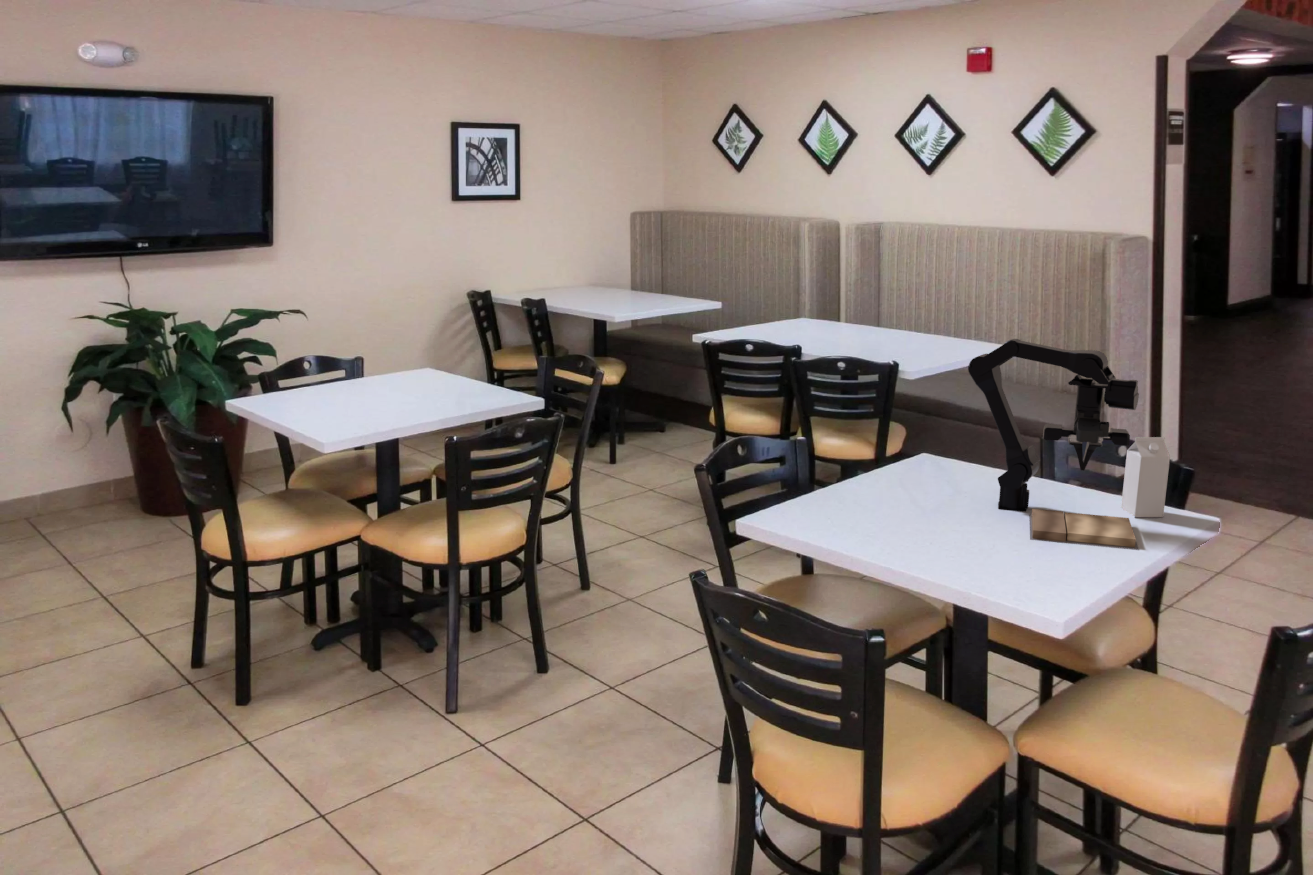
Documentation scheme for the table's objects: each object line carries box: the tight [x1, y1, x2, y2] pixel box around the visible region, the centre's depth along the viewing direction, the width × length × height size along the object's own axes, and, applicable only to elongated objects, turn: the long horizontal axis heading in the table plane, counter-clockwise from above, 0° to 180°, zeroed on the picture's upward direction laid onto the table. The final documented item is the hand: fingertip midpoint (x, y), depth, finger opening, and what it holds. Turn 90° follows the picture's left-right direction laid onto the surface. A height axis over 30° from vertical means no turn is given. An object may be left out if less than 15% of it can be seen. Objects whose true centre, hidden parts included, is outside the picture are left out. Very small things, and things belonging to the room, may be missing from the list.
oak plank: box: [1064, 511, 1137, 547], centre depth 254 cm, size 14×17×2 cm
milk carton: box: [1120, 436, 1171, 518], centre depth 269 cm, size 7×7×19 cm
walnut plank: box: [1031, 508, 1066, 542], centre depth 257 cm, size 7×18×2 cm, turn 163°
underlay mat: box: [1028, 514, 1140, 551], centre depth 255 cm, size 22×20×1 cm
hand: (1082, 470), depth 264 cm, fingers closed
